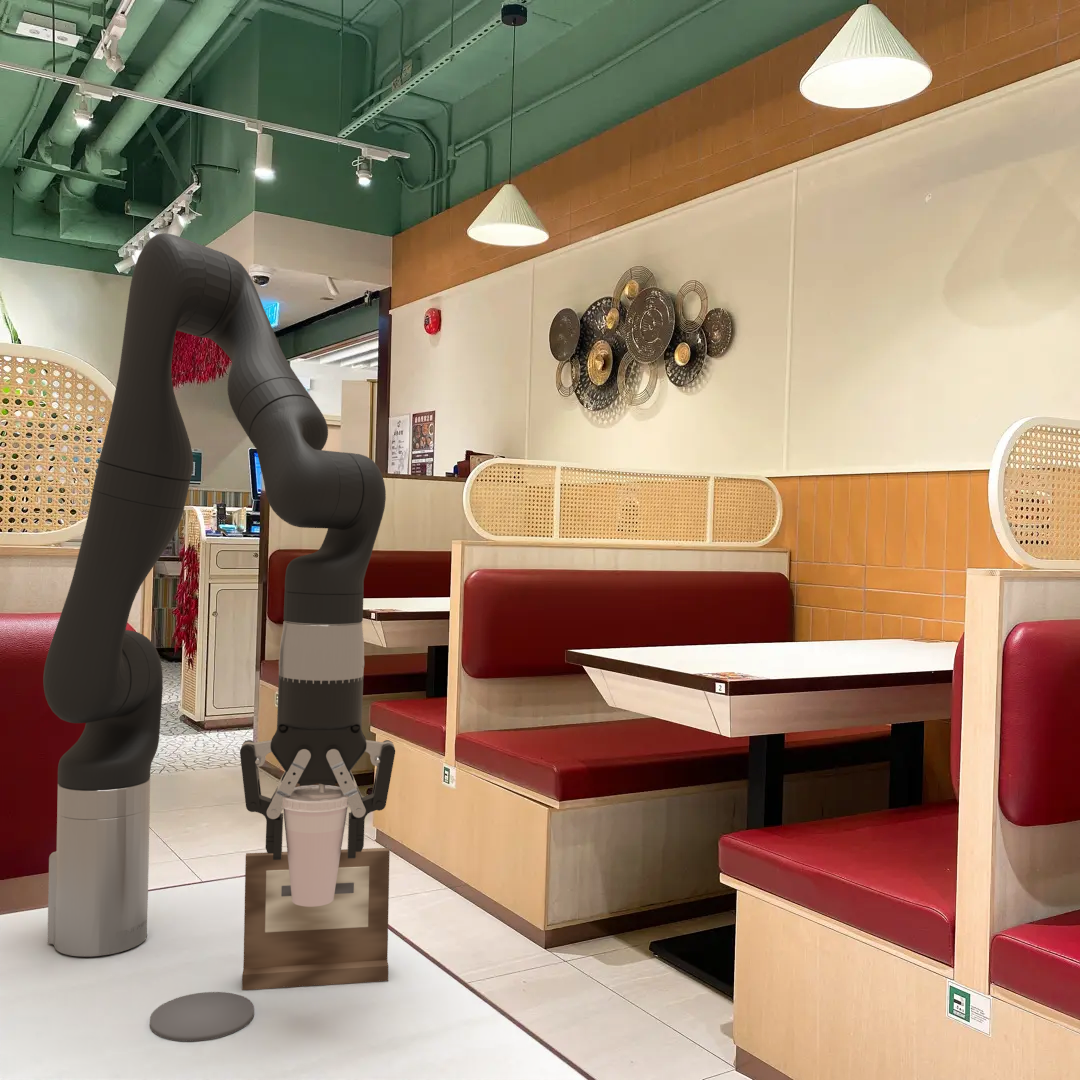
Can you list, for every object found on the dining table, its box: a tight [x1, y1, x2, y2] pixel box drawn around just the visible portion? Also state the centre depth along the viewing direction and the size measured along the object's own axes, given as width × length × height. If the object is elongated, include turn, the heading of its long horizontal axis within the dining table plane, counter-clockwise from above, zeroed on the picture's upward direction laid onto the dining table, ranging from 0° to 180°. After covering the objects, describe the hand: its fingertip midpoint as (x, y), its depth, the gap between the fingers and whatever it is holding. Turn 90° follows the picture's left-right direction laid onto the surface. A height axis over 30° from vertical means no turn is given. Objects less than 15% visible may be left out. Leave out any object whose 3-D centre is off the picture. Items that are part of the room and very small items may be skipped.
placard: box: [241, 847, 391, 991], centre depth 107 cm, size 14×4×12 cm, turn 102°
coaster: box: [149, 991, 255, 1042], centre depth 97 cm, size 9×9×1 cm
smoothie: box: [282, 783, 350, 907], centre depth 97 cm, size 6×6×14 cm
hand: (315, 856), depth 97 cm, fingers closed on smoothie, 6 cm apart
